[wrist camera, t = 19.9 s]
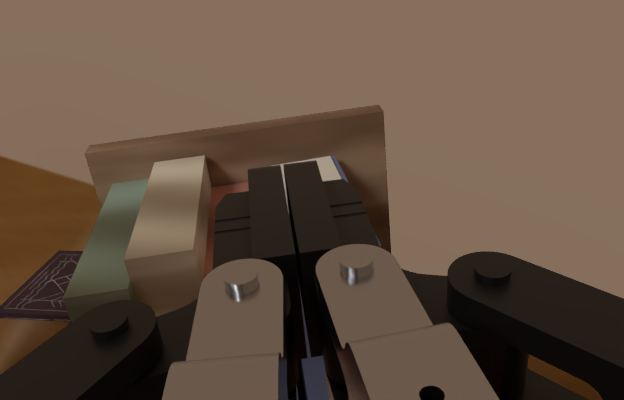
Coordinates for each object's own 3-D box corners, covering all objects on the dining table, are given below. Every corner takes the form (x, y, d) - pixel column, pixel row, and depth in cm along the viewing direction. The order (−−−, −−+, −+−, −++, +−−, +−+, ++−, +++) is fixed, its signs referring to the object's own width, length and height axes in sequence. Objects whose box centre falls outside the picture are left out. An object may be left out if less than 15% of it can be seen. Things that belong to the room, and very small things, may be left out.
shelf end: (480, 464, 31) (490, 192, 24) (124, 526, 30) (18, 263, 23) (417, 318, 42) (410, 100, 34) (154, 360, 41) (89, 145, 33)
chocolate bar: (58, 250, 55) (242, 255, 51) (61, 259, 55) (244, 264, 51) (-7, 312, 47) (204, 323, 43) (-2, 321, 48) (207, 333, 43)
